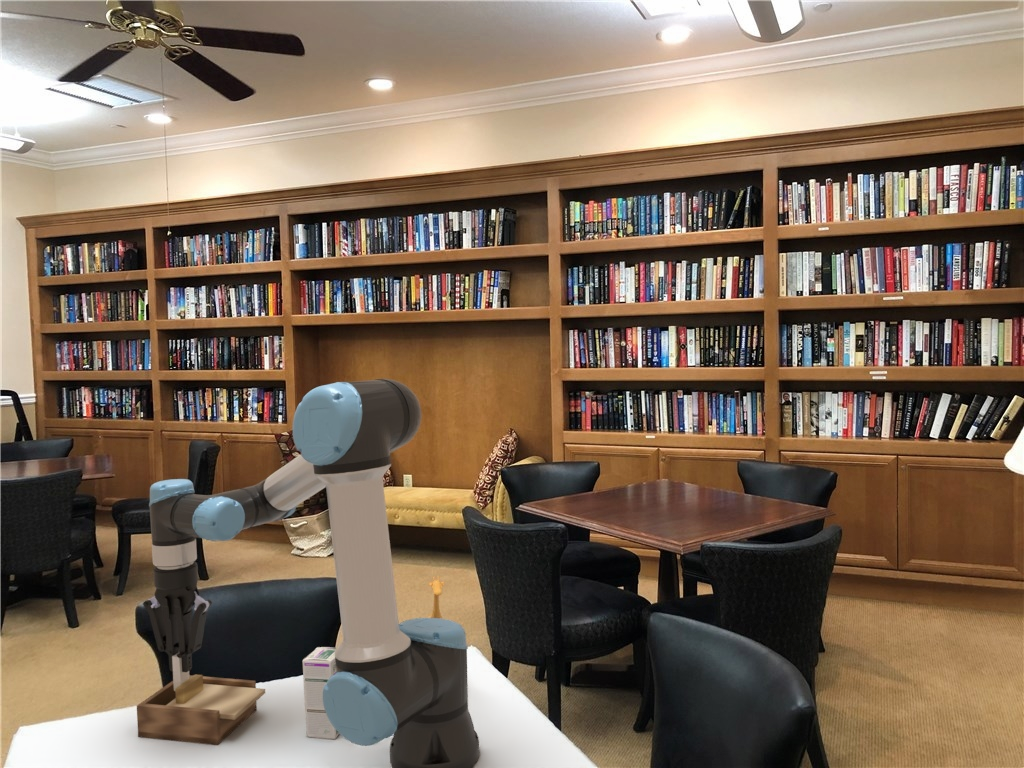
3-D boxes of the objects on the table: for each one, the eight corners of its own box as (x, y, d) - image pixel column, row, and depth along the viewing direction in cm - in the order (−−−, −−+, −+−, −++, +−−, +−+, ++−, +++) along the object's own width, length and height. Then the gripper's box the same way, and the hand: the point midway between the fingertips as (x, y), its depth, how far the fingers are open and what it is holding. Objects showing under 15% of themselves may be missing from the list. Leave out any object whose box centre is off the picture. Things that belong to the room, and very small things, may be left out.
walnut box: (138, 736, 141) (136, 705, 140) (183, 703, 153) (181, 674, 153) (217, 745, 137) (216, 713, 137) (256, 709, 150) (255, 680, 150)
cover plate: (161, 712, 141) (160, 693, 141) (196, 687, 151) (195, 669, 151) (234, 719, 138) (233, 699, 137) (265, 692, 148) (264, 674, 148)
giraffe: (452, 709, 149) (449, 581, 147) (429, 712, 148) (426, 583, 146) (444, 673, 165) (441, 557, 163) (423, 675, 164) (420, 558, 162)
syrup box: (335, 740, 138) (332, 660, 137) (304, 737, 139) (301, 658, 138) (348, 724, 144) (346, 647, 143) (319, 721, 145) (316, 645, 144)
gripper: (218, 559, 146) (224, 681, 148) (157, 556, 149) (164, 676, 150) (194, 571, 139) (201, 699, 140) (130, 568, 142) (137, 694, 143)
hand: (181, 687), depth 145 cm, fingers closed
